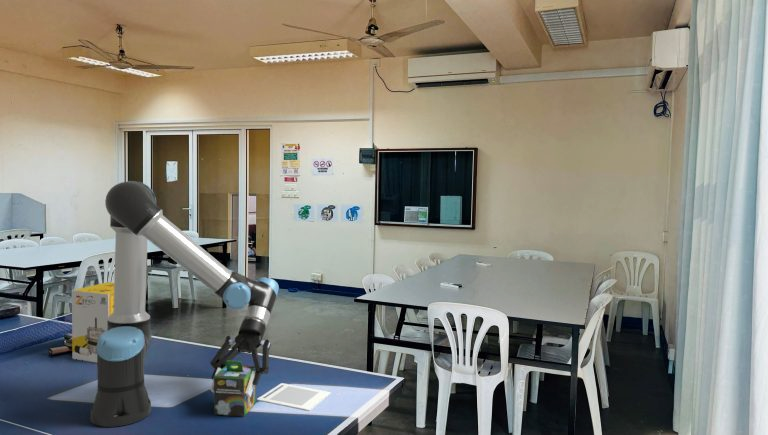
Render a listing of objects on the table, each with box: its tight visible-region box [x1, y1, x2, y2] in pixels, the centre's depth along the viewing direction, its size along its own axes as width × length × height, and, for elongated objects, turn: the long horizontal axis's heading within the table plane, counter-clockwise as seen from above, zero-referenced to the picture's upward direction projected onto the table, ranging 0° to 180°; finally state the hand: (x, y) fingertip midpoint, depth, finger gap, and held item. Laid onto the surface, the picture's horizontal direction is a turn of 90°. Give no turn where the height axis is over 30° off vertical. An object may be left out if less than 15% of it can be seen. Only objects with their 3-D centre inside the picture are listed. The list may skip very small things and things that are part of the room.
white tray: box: [256, 382, 332, 412], centre depth 165 cm, size 14×18×1 cm
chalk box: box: [213, 360, 256, 418], centre depth 154 cm, size 9×9×15 cm
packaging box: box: [71, 282, 114, 364], centre depth 196 cm, size 16×16×25 cm
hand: (230, 393), depth 151 cm, fingers open, 10 cm apart
